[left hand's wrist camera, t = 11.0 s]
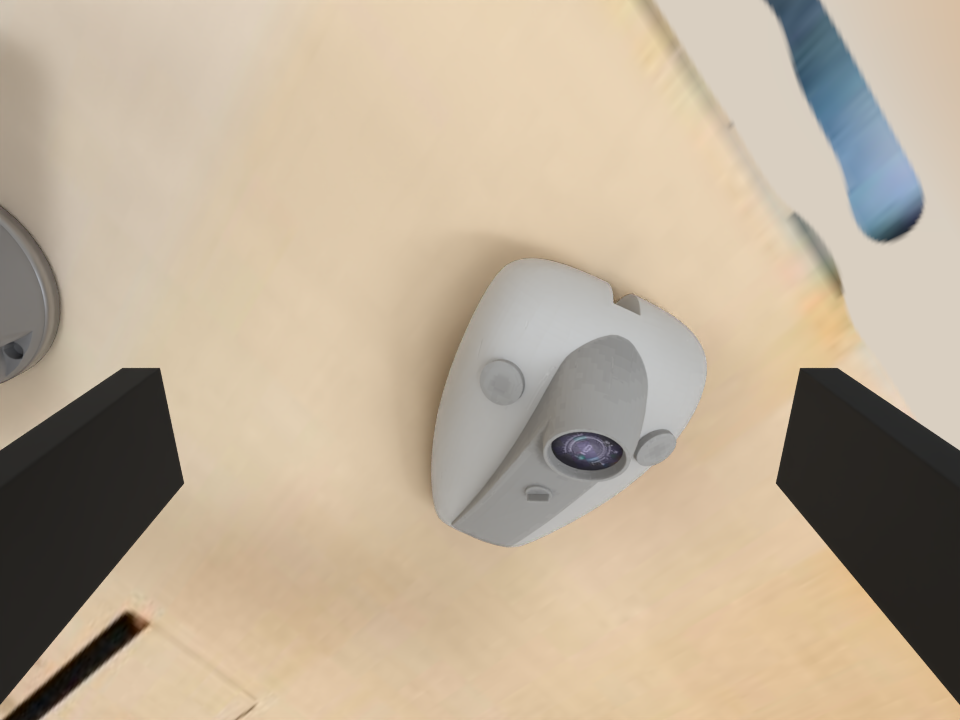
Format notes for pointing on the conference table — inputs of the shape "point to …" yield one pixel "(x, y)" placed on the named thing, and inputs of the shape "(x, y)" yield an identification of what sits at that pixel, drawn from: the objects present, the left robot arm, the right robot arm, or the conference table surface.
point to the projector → (557, 402)
